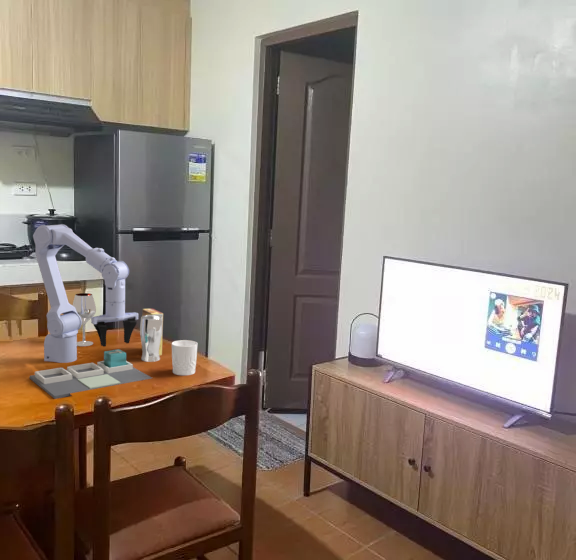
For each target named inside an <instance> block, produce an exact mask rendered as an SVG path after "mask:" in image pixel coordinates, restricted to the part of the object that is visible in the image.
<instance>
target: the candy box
mask: <svg viewBox="0 0 576 560" xmlns="http://www.w3.org/2000/svg"><path fill="white" fill-rule="evenodd" d="M144 315H158V316H161V320H162V335H161V341H160V346H159V356H162V355H163V332H164V331H163V330H164V313H163V312H161V311H159V310H156V309H155V308H142V316H144ZM142 316H141V317H142ZM141 351H142V352H143V350H142V349H141Z"/></svg>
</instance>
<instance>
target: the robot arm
mask: <svg viewBox="0 0 576 560" xmlns="http://www.w3.org/2000/svg"><path fill="white" fill-rule="evenodd" d="M32 238H33V241H34V245H35V257H36V261H37V264H38V268H39V271H40V274H41V275H40V276H41V278H42V281H43V284H44V288H45V291H46V295H47V298H48V303H49V305H50V309H49V310H48V311H47V313H46V315H45V316H46V321H47V323H46V325H47V331H48V334H47V335H46V336H45V337H44V342H43V353H44V354H43V357H44V359H43V362H54V363H61V364H62V363H63V364H64V363H65V364H67V363H72V362H75V361H77V360H78V357H77V356H78V353H77V351H78V348H77V347H78V346H77V342H78V337H77V336H78V335H77V334H79V330H80V329H81V327H82V326H83V324H82V320H81V317H80V316H79V314H78V313H77V311H76V308H75V307H74V306H72V305H73V304H71V303H70V302H69V300H68V296H67V292H66V288H65V286H64V282H63V278H62V274H61V272H60V269H59V264H58V262H57V258H56V255H57V254H58V252H59V251H60V250H61V249H62V248H63V247H64V246H67V247H69V248H70V249H72V250H73V251H75V252H77V254H80V255H82V256H83V257H85V262H86V263H87V264H88V265H89V266H90V267H92V268H94V269H95V270H96V271H98V272H99V273H101V277H102V278H103V280H104V286H105V314H101V315H96V316H95V315H94V316H93V317H91V319H90V322H91V324H92V325H93V326H94V328H95V331H96V332H97V336H98V338H99V341H100V346H101V347H103V348H105V347H106V346H107V333H108V332H107V331H108V325H106V323H112V322H121V321H122V326H123V342H124V343H126V344H129V343H130V341H131V337H132V334H133V331H134V329H135V328H136V326H137V324H138V321H137V320H139V313H138V312H135V311H133V312H126V279H127V278H128V276H129V274H130V268H129V266H128V265H127V263H126V262H125V261H123V260H116V258H115V257H112V256H110V255H109V254H108V253H106V252H105V249H103V248H102V247H101V248H100V247H95V248H93V247H91V246H90V245H89V244H88V243H87V242H85V241H84V240H83V238H82V239H81V238H80V236H78V235H77V234H75V233H74V232H73V229H72V228H70V227H69V226H67V225H66V224H63V223H61V224H52V225H50V224H48V225H45V224H42V225H38V227H37V228H36V229H35V231H34V232H33V235H32Z"/></svg>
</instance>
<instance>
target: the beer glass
mask: <svg viewBox="0 0 576 560" xmlns="http://www.w3.org/2000/svg"><path fill="white" fill-rule="evenodd" d="M139 325H140V327H139V331H140V332H139V334H140V341H141V351H142V350H143V351H142V355H141V361H142V362H148V363H149V362H150V363H154V362H158V361H160V360H161V357H160V355H159V346H160V341H161V335H162V320H161V316H158V315H144V316H140V324H139Z"/></svg>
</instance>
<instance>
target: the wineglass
mask: <svg viewBox="0 0 576 560" xmlns="http://www.w3.org/2000/svg"><path fill="white" fill-rule="evenodd" d="M73 298H74V299H73V301H72V302H73V303H72V304H71V305H72V306H74V307H75V308H76V311H77V313H78V314H79V316H80V317H81V320H82V341H77V347H89V346H92V345H93V344H94V342H93V341H88V340H86V324H87V323H88V321H91V317H95V314H96V312H97V307H96V303H95V299H94V295H93V294H92V293H89V292H79V293H75V295H74V297H73Z"/></svg>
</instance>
